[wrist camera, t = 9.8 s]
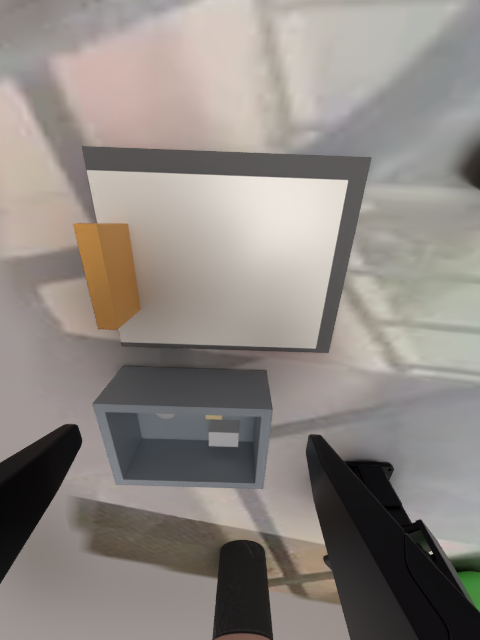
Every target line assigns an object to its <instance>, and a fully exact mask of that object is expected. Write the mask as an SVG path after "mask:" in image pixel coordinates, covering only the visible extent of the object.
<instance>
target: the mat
mask: <svg viewBox="0 0 480 640" xmlns="http://www.w3.org/2000/svg"><path fill="white" fill-rule="evenodd" d="M82 149H83V154H84V159H85V164H86V169H87V170H98V171H124V172H150V173H176V174H202V175H228V176H254V177H280V178H306V179H332V180H348V185H347V190H346V195H345V200H344V205H343V211H342V216H341V221H340V226H339V231H338V236H337V242H336V247H335V252H334V257H333V262H332V267H331V273H330V278H329V283H328V288H327V293H326V299H325V304H324V309H323V314H322V319H321V324H320V330H319V335H318V340H317V345H316V349H312V348H282V347H252V346H222V345H193V344H163V343H133V342H121V344H122V346H134V347H165V348H195V349H226V350H256V351H286V352H317V353H329V348H330V344H331V339H332V335H333V330H334V325H335V321H336V316H337V312H338V307H339V303H340V298H341V294H342V289H343V285H344V280H345V275H346V271H347V266H348V262H349V257H350V253H351V248H352V244H353V239H354V235H355V230H356V225H357V221H358V216H359V212H360V207H361V203H362V198H363V194H364V189H365V185H366V180H367V175H368V171H369V166H370V162H371V157H347V156H321V155H295V154H269V153H243V152H217V151H191V150H164V149H138V148H112V147H86V146H82Z"/></svg>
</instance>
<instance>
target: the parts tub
mask: <svg viewBox="0 0 480 640" xmlns="http://www.w3.org/2000/svg"><path fill="white" fill-rule="evenodd" d="M93 408H94V411H95V415H96V418H97V421H98V425H99V428H100V432H101V435H102V438H103V442H104V445H105V449H106V452H107V455H108V459H109V462H110V466H111V469H112V472H113V476H114V479H115V483H116V485H144V486H179V487H213V488H248V489H263V486H264V477H265V469H266V461H267V452H268V444H269V436H270V427H271V419H272V410H273V409H272V403H271V397H270V390H269V384H268V378H267V372H266V371H259V370H228V369H197V368H166V367H135V366H123V367H122V368H121V369H120V371H119V372H118V373H117V374H116V376H115V377H114V378H113V379H112V380H111V382H110V383H109V384H108V385H107V387H106V388H105V389H104V390H103V391H102V393H101V394H100V395H99V396H98V398H97V399H96V400H95V401H94V402H93Z"/></svg>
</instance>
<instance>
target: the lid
mask: <svg viewBox="0 0 480 640" xmlns="http://www.w3.org/2000/svg"><path fill="white" fill-rule="evenodd" d="M87 174H88V179H89V184H90V189H91V194H92V199H93V204H94V209H95V214H96V219H97V223H76V224H73V226H74V230H75V234H76V238H77V242H78V246H79V251H80V255H81V259H82V263H83V267H84V272H85V276H86V280H87V284H88V288H89V292H90V297H91V301H92V305H93V309H94V313H95V318H96V322H97V326H98V329H112V330H118V329H119V334H120V339H121V342H133V343H163V344H193V345H222V346H252V347H282V348H312V349H316V345H317V340H318V335H319V330H320V324H321V319H322V314H323V309H324V304H325V299H326V293H327V288H328V283H329V278H330V273H331V267H332V262H333V257H334V252H335V247H336V242H337V236H338V231H339V226H340V221H341V216H342V211H343V205H344V200H345V195H346V190H347V185H348V180H332V179H306V178H280V177H254V176H228V175H202V174H176V173H150V172H124V171H98V170H87Z"/></svg>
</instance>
